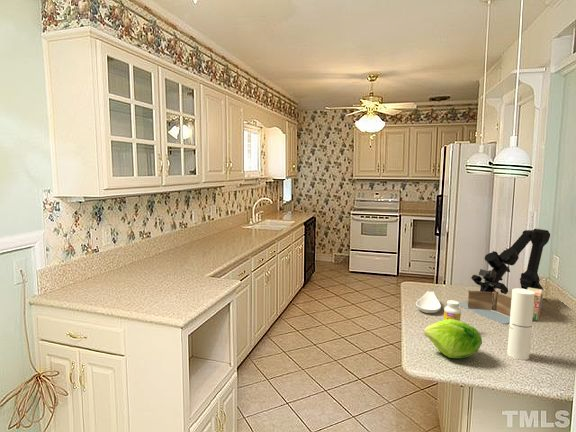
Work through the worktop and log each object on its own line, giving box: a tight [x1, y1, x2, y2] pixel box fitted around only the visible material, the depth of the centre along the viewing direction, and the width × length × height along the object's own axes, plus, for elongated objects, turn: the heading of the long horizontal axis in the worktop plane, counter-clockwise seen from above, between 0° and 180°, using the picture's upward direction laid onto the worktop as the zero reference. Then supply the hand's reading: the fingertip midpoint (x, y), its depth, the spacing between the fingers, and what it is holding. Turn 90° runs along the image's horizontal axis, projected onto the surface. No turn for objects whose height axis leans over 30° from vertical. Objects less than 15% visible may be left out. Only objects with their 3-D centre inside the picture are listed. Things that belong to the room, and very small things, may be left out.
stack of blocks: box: [527, 287, 544, 321], centre depth 190 cm, size 21×6×12 cm, turn 143°
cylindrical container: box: [506, 287, 535, 361], centre depth 144 cm, size 7×7×25 cm
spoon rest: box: [415, 290, 442, 315], centre depth 197 cm, size 24×12×7 cm, turn 156°
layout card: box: [458, 301, 510, 325], centre depth 192 cm, size 16×29×1 cm, turn 20°
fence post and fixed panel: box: [492, 290, 512, 317], centre depth 187 cm, size 2×15×10 cm, turn 20°
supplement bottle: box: [443, 299, 462, 321], centre depth 168 cm, size 7×7×13 cm
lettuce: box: [423, 319, 483, 359], centre depth 145 cm, size 15×20×14 cm
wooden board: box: [467, 290, 493, 309], centre depth 194 cm, size 2×11×8 cm, turn 77°
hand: (479, 296), depth 196 cm, fingers closed
